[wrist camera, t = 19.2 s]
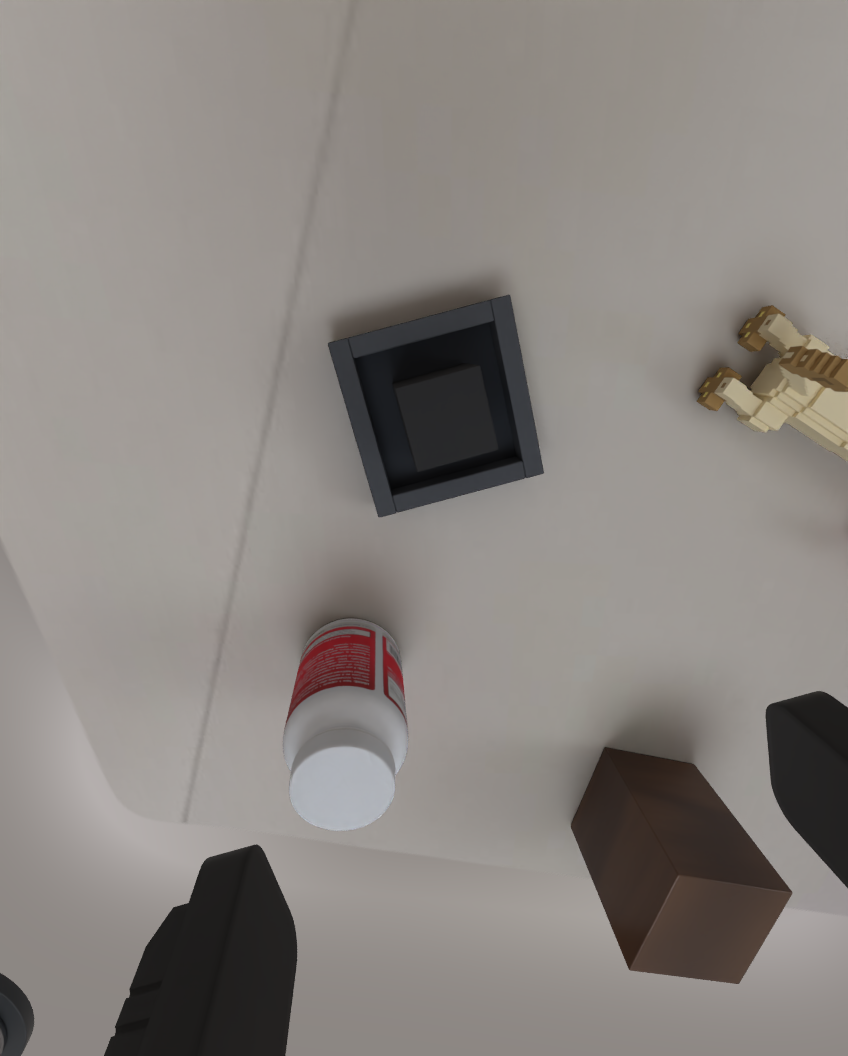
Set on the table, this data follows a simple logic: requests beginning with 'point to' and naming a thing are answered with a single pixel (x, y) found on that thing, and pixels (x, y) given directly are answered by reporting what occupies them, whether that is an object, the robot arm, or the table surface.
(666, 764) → the riser
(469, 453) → the black block
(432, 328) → the dark open tray
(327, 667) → the pill bottle
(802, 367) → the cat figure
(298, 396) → the table surface
